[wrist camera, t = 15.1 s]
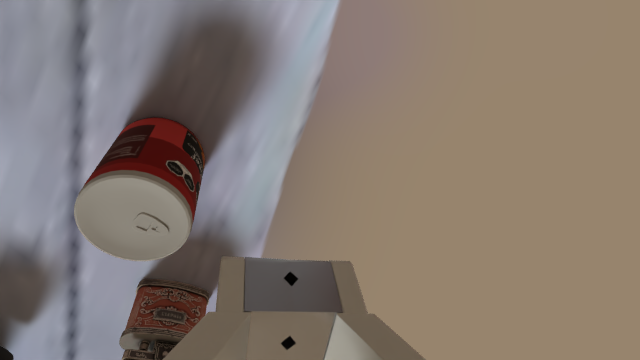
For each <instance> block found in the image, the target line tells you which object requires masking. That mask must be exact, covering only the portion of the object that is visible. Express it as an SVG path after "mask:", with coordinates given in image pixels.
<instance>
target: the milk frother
mask: <svg viewBox="0 0 640 360" xmlns="http://www.w3.org/2000/svg"><path fill="white" fill-rule="evenodd" d="M0 360H13V355H12V354H11V353H10V352H9V351H8V350H6V349H5V348H3V347H1V346H0Z"/></svg>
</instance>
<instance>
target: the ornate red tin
mask: <svg viewBox="0 0 640 360" xmlns="http://www.w3.org/2000/svg"><path fill="white" fill-rule="evenodd" d="M208 302H209V293H208V292H207V291H206V290H204V289H202V288H199V287H196V286H193V285H189V284H185V283H181V282H177V281H170V280H162V279H144V280H142V281H141V282H140V283H139V284H138V287H137V290H136V298H135V301H134V304H133V307H132V310H131V313H130V316H129V319H128V323H127V326H126V329H125V330H124V331H123V333H122V335H121V338H120V346H121V347H122V348H123V349H125V351H124V354H123V357H122V360H163V359H164V358H165V357H166V356H167V354H168V353H169V352H170V351H171V350H172V349H173V348H174V347H175V346H176V345H177V344H178V343H179V342H180V341H181V340H182V339H183V338H184V337H185V336H186V335H187V334H188V333H189V332H190V331H191V330H192V329H193V327H194V326H195V325H196V324H197V323H198V322H199V321H200V320H201V319H202V318H203V317H204V316H205V314H206V306H207V305H208Z"/></svg>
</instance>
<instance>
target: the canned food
mask: <svg viewBox="0 0 640 360" xmlns="http://www.w3.org/2000/svg"><path fill="white" fill-rule="evenodd" d="M204 165H205V156H204V152H203V149H202V147H201V145H200V143H199V141H198V139H197V138H196V137H195V135H194V134H193V133H192V132H191V131H190V130H189V129H187V128H186V127H185V126H183V125H181V124H180V123H177V122H175V121H173V120H169V119H165V118H156V117H154V118H146V119H142V120H139V121H136V122H134V123H132V124H130V125H128V126H127V127H126V128H125V129H123V130H122V131H121V133H120V134H119V136H118V137H117V139H116V140H115V142H114V143H113V144H112V146H111V147H110V149H109V150H108V152H107V153H106V154H105V156H104V157H103V159H102V160H101V162H100V163H99V164H98V166H97V167H96V169H95V170H94V172H93V173H92V175H91V176H90V177H89V179H88V180H87V182H86V183H85V185H84V187H83V188H82V190H81V191H80V193H79V195H78V197H77V200H76V203H75V206H74V216H75V220H76V224H77V226H78V228H79V230H80V232H81V233H82V234H83V235H84V237H85V238H86V239H87V240H88V241H89V242H90V243H91V244H92V245H94V246H95V247H96V248H98V249H100V250H101V251H103V252H105V253H107V254H109V255H112V256H114V257H117V258H121V259H125V260H131V261H151V260H157V259H160V258H164V257H167V256H169V255H171V254H173V253H174V252H176V251H177V250H178V249H180V248H181V247H182V245H183V244H184V243H185V242H186V240H187V238H188V236H189V234H190V231H191V228H192V224H193V220H194V215H195V210H196V205H197V200H198V195H199V190H200V185H201V180H202V175H203V170H204Z"/></svg>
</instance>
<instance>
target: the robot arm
mask: <svg viewBox="0 0 640 360" xmlns="http://www.w3.org/2000/svg"><path fill="white" fill-rule="evenodd" d="M163 360H426V359H424V358H423V357H422V356H421V355H420V354H419V353H418V352H417V351H416V350H414V349H413V348H412V347H411V346H410V345H409V344H408V343H407V342H405V341H404V340H403V339H402V338H401V337H400V336H399V335H398V334H396V333H395V332H394V331H393V330H392V329H391V328H390V327H389V326H387V325H386V324H385V323H384V322H383V321H382V320H380V319H379V318H378V317H377V316H376V315H375V314H368V312H367V309H366V306H365V303H364V299H363V296H362V293H361V290H360V287H359V284H358V280H357V278H356V274H355V271H354V268H353V265H352V263H351V262H350V261H312V260H283V259H267V258H252V257H245V259H244V257H229V256H222V258H221V262H220V272H219V282H218V292H217V302H216V312H208V313H207V314H206V315H205V316H204V317H203V318H202V319H201V320H200V321H199V322H198V323H197V324H196V325H195V326H194V327H193V329H192V330H191V331H190V332H189V333H188V334H187V335H186V336H185V337H184V338H183V339H182V340H181V341H180V342H179V343H178V344H177V345H176V346H175V347H174V348H173V349H172V350H171V351H170V352H169V353H168V354H167V356H166V357H165V358H164V359H163Z"/></svg>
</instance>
